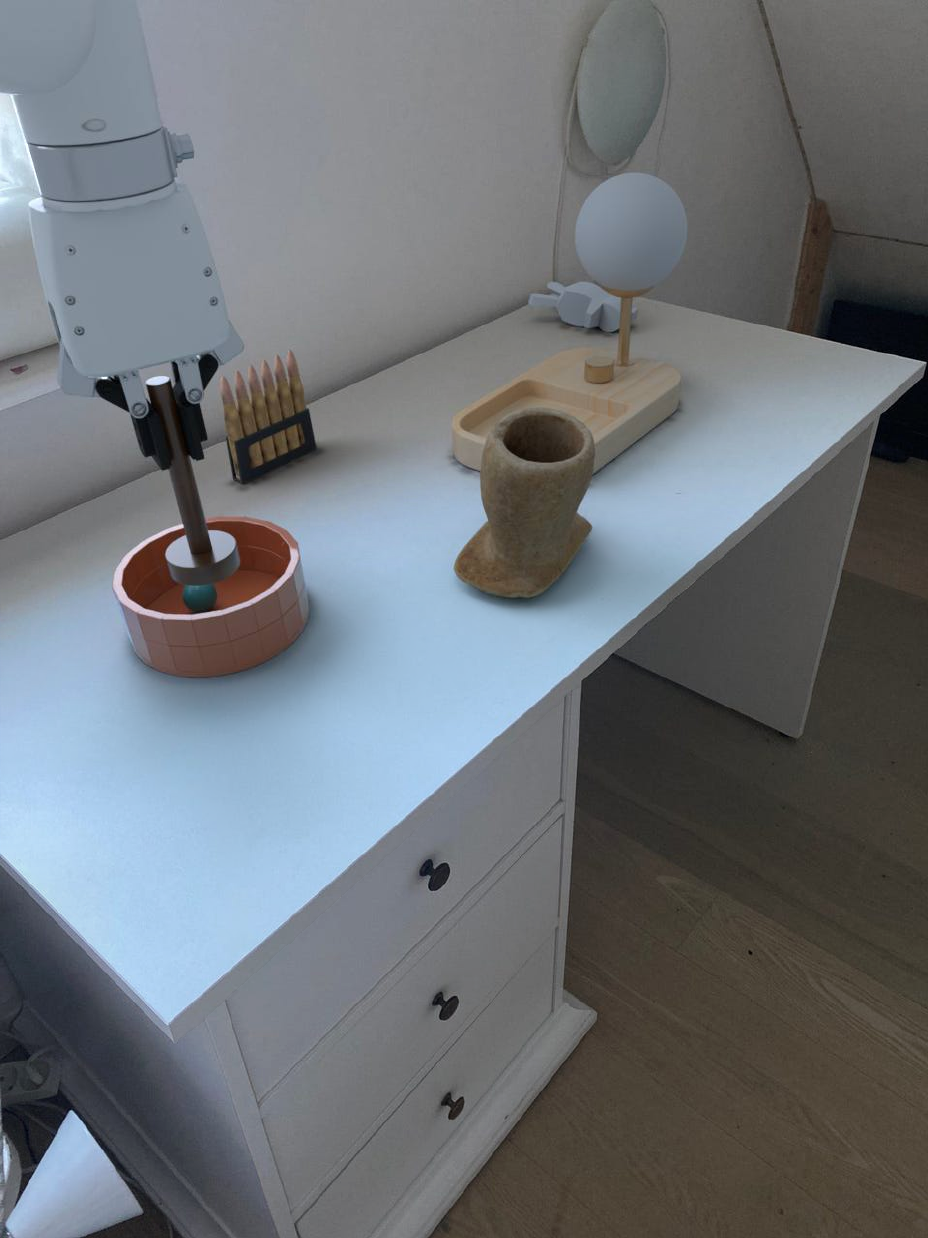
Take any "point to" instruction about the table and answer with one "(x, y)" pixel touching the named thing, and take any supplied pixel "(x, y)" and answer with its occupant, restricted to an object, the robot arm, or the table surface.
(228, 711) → the table surface
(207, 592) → the bead
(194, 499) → the brown disc-based tamper
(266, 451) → the ammunition clip
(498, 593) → the stone cup
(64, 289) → the robot arm
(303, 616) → the bowl
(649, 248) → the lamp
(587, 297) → the bunny figurine
